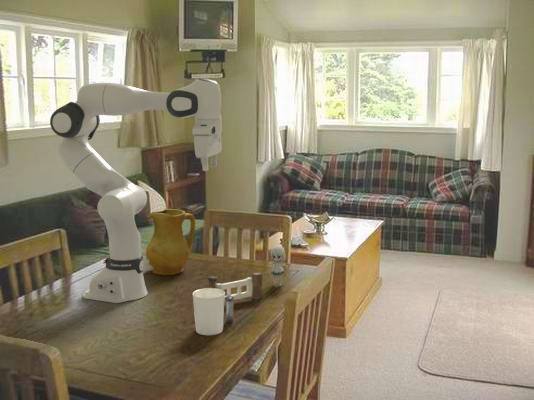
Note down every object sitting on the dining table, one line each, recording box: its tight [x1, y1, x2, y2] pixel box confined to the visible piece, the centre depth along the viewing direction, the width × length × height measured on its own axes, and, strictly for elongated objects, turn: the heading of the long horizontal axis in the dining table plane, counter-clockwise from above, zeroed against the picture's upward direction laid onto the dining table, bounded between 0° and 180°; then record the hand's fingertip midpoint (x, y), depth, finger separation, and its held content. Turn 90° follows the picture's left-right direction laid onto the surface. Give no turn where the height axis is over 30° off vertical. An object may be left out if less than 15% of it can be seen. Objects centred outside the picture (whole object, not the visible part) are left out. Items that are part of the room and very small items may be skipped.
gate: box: [216, 277, 253, 303], centre depth 224 cm, size 14×1×6 cm, turn 124°
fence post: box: [252, 271, 263, 301], centre depth 229 cm, size 2×2×9 cm
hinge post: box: [207, 276, 218, 288], centre depth 219 cm, size 3×3×11 cm
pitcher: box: [145, 208, 196, 276], centre depth 262 cm, size 17×19×25 cm
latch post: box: [225, 295, 235, 324], centre depth 207 cm, size 3×3×8 cm
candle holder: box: [192, 287, 226, 336], centre depth 199 cm, size 10×10×12 cm
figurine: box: [265, 245, 292, 287], centre depth 245 cm, size 10×6×15 cm, turn 68°
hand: (209, 168), depth 221 cm, fingers open, 8 cm apart
